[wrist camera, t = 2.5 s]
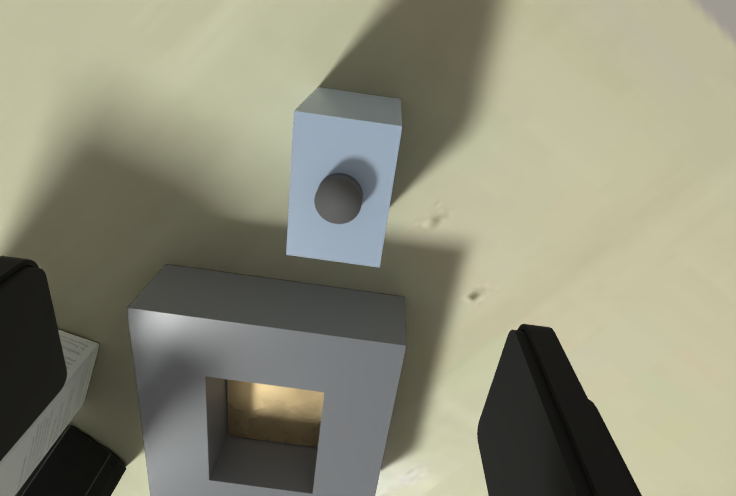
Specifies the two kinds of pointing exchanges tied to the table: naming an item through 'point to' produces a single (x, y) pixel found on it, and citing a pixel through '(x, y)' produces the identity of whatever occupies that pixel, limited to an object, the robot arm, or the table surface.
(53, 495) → the portable radio
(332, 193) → the plug
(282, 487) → the socket block
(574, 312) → the table surface
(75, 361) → the skincare box
